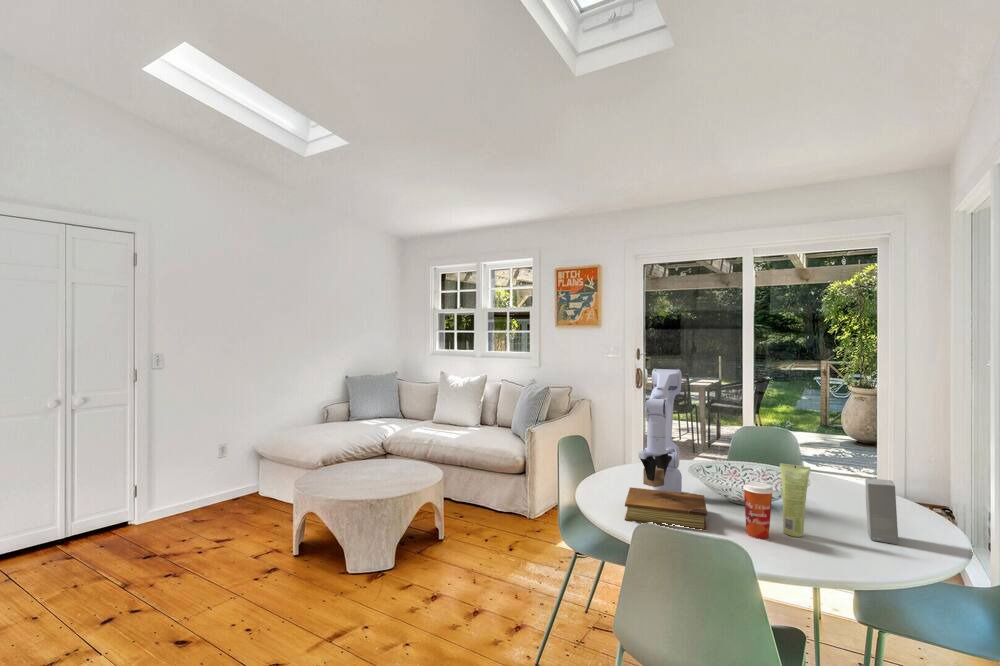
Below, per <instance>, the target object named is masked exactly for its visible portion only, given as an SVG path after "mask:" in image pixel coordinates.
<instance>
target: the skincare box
mask: <svg viewBox="0 0 1000 666" xmlns="http://www.w3.org/2000/svg"><path fill="white" fill-rule="evenodd" d="M864 481H865V506H866V507H865V508H866V521H867V533H868V536H869V540H871V541H875V542H881V543H886V544H887V543H888V544H893V545H896V546H897V545H898V546H899V531H898V513H897V495H896V485H895V483H894V482H893V480H891V479H879V478H869V477H865V480H864Z"/></svg>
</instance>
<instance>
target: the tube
mask: <svg viewBox="0 0 1000 666" xmlns="http://www.w3.org/2000/svg"><path fill="white" fill-rule="evenodd" d="M779 468H780V469H779V471H780V476H781V477H780V478H781V491H782V522H783V524H782V525H783V527H782V529H783V530H782V531H783V533H784V534H786V535H788V536H791V537H796V538H797V537H799V538H800V537H804V531H805V529H804V528H805V515H806V503H807V494H808V493H807V492H808V483H809V476H810V472H811V467H810V466H803V465H796V464H788V463H782V462H781V463H779Z"/></svg>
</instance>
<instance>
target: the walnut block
mask: <svg viewBox="0 0 1000 666" xmlns="http://www.w3.org/2000/svg"><path fill="white" fill-rule="evenodd" d="M642 478H643V485H645V486H648V487H652V488H653V487H659V486H663V485H664V469H660V468H656V469H655V478H654V481H651V480H648V479H647V475H646V471H645V468H644V467H643V477H642Z"/></svg>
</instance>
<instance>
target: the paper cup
mask: <svg viewBox="0 0 1000 666" xmlns="http://www.w3.org/2000/svg"><path fill="white" fill-rule="evenodd" d="M742 489H743V496H744V499H743V500H744V510H745V511H744V512H745V513H744V514H745V515H744V516H745V530H746V531H745V532H746V534H748V535H747V536H749V537H751V538H754V537H755V538H754V539H759V538H760V539H762V540H763V539H765V540H766V539H768V538H769V536H770V528H771V527H770V525H771V515H772V513H771V511H772V498H773V493H775V491H774V489H773V487H772V486H771V485H770V484H768V483H765V482H759V481H746V482H745V483H744V486H743V487H742ZM760 539H759V540H760Z"/></svg>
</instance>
